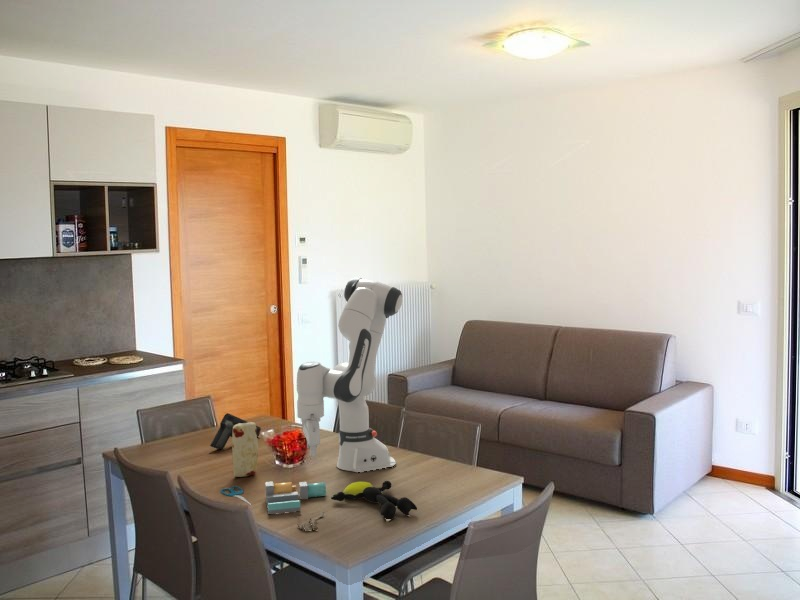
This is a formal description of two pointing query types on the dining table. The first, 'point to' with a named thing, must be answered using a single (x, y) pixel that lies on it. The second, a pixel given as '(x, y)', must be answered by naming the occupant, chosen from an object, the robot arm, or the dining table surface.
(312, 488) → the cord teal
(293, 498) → the rack
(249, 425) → the food model
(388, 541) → the dining table surface
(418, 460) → the dining table surface
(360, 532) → the dining table surface
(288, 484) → the tan and gray block
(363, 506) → the dining table surface
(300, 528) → the leaf
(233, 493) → the scissors
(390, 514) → the toy
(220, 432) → the handgun
